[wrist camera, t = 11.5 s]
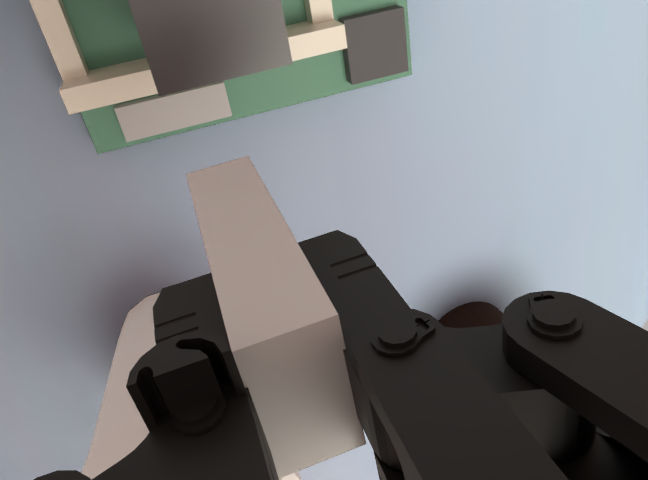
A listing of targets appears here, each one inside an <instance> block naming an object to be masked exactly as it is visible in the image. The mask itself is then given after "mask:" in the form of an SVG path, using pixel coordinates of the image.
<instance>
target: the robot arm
mask: <svg viewBox="0 0 648 480" xmlns="http://www.w3.org/2000/svg"><path fill="white" fill-rule="evenodd" d="M186 177H187V180H188V184H189V188H190V192H191V196H192V200H193V204H194V208H195V212H196V215H197V219H198V223H199V227H200V231H201V235H202V239H203V243H204V246H205V250H206V254H207V258H208V262H209V266H210V270H211V273H209V274H206V275H203V276H200V277H197V278H194V279H191V280H188V281H185V282H182V283H179V284H175V285H172V286H169V287H166V288H163V289H162V291H161V292H160V294H159V296H158V298H157V300H156V302H155V304H154V306H153V320H154V327H155V329H154V334H155V342H156V345H155V346H154V347H153V348H151V349H150V350H149V351H148V352H146V353H145V354H144V355H143V356H141V357H140V359H139V360H138V361H137V363H136V364H135V365H134V367H133V368H132V369H131V371H130V373H129V377H128V381H127V384H126V388H127V390H128V392H129V394H130V396H131V398H132V399H133V401H134V403H135V405H136V407H137V409H138V411H139V413H140V415H141V417H142V419H143V420H144V422H145V424H146V426H147V428H148V430H149V433H148V435H147V437H146V438H145V439H144V440H143V441H142V442H141V443H140V444H139V445H138V446H137V447H136V449H135V450H133V451H132V452H131V453H129V454H128V455H127V456H126V457H124V458H123V459H122V460H120V461H119V462H117V463H116V464H114V465H113V466H111V467H110V468H108V469H107V470H105V471H104V472H102V473H101V474H99V475H98V476H96V477H95V478H93V479H92V480H279V478H282V477H284V476H287V475H289V474H292V473H294V472H297V471H299V470H302V469H304V468H307V467H309V466H312V465H314V464H317V463H319V462H322V461H324V460H327V459H329V458H332V457H334V456H337V455H339V454H342V453H344V452H347V451H349V450H352V449H354V448H357V447H359V446H362V445H364V444H366V441H365V437H364V432H363V429H364V431H365V433H366V435H367V437H368V440H369V442H370V444H371V446H372V448H373V450H374V455H375V459H376V464H377V469H378V474H379V479H380V480H648V331H646V330H644V329H642V328H641V327H639V326H637V325H635V324H633V323H631V322H629V321H627V320H625V319H623V318H621V317H619V316H617V315H615V314H613V313H611V312H609V311H608V310H606V309H604V308H602V307H600V306H598V305H596V304H594V303H592V302H590V301H588V300H586V299H583V298H581V297H578V296H575V295H572V294H570V293H564V292H556V291H542V292H533V293H529V294H526V295H524V296H521V297H519V298H516V299H515V300H514V301H513V302H511V303H510V304H509V305H508V306H507V307H506V308H505V311H504V315H503V319H502V324H498V325H489V326H479V327H470V328H451V327H444V326H443V325H442V324H441V323H440V322H438V321H437V320H436V319H435V318H433V317H432V316H431V315H430V314H427V313H424V312H421V311H418V310H415V309H410V307H409V306H408V305H407V303H406V302H405V301H404V300H403V298H402V297H401V296H400V294H399V293H398V292H397V291H396V289H395V288H394V287H393V285H392V284H391V283H390V281H389V280H388V279H387V278H386V276H385V275H384V274H383V272H382V271H381V270H380V269H379V267H377V266H376V263H375V262H374V261H373V260H372V258H371V257H370V256H369V255H368V254H367V252H366V251H365V249H364V248H363V247H362V245H361V244H360V243H359V241H358V240H357V239H356V238H354V237H352V236H349V235H347V234H345V233H343V232H341V231H339V230H336V231H333V232H330V233H327V234H324V235H320V236H317V237H314V238H311V239H308V240H305V241H302V242H299V243H297V241H296V239H295V237H294V236H293V234H292V232H291V230H290V229H289V227H288V225H287V223H286V222H285V220H284V218H283V216H282V215H281V213H280V211H279V209H278V208H277V206H276V204H275V202H274V201H273V199H272V197H271V195H270V193H269V192H268V190H267V188H266V186H265V185H264V183H263V181H262V179H261V178H260V176H259V174H258V172H257V171H256V169H255V167H254V165H253V164H252V162H251V160H250V158H249V157H248V156H246V157H242V158H239V159H236V160H232V161H229V162H225V163H222V164H218V165H215V166H211V167H208V168H205V169H201V170H198V171H194V172H191V173H187V174H186ZM34 480H91V479H90V478H89V477H88V476H86V475H84V474H82V473H80V472H78V471H76V470H75V471H55V472H52V473H49V474H46V475H43V476H40V477H37V478H36V479H34Z"/></svg>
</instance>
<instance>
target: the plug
mask: <svg viewBox="0 0 648 480" xmlns="http://www.w3.org/2000/svg"><path fill="white" fill-rule="evenodd" d="M128 3H129V6H130V9H131V12H132V15H133V18H134V21H135V24H136V27H137V30H138V34H139V37H140V40H141V43H142V46H143V49H144V52H145V55H146V58H147V61H148V64H149V67H150V70H151V73H152V76H153V80H154V83H155V86H156V89H157V92H158V95H159V96H162V95H166V94H170V93H175V92H179V91H183V90H187V89H191V88H195V87H200V86H204V85H208V84H212V83H216V82H220V81H225V80H229V79H233V78H237V77H241V76H245V75H250V74H254V73H258V72H262V71H266V70H270V69H275V68H279V67H283V66H287V65H291V64H293V62H292V57H291V51H290V46H289V41H288V35H287V30H286V25H285V19H284V14H283V8H282V3H281V0H128Z"/></svg>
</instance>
